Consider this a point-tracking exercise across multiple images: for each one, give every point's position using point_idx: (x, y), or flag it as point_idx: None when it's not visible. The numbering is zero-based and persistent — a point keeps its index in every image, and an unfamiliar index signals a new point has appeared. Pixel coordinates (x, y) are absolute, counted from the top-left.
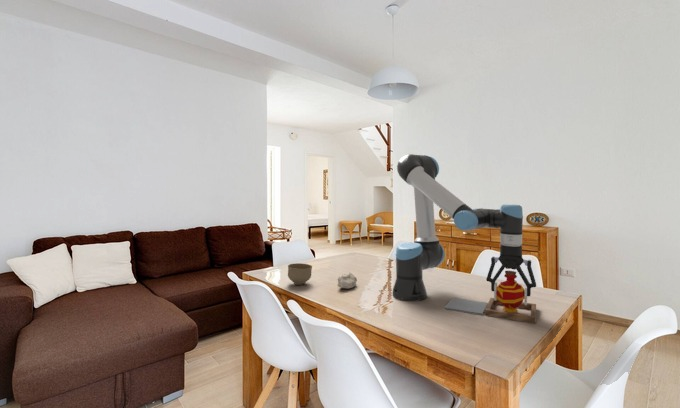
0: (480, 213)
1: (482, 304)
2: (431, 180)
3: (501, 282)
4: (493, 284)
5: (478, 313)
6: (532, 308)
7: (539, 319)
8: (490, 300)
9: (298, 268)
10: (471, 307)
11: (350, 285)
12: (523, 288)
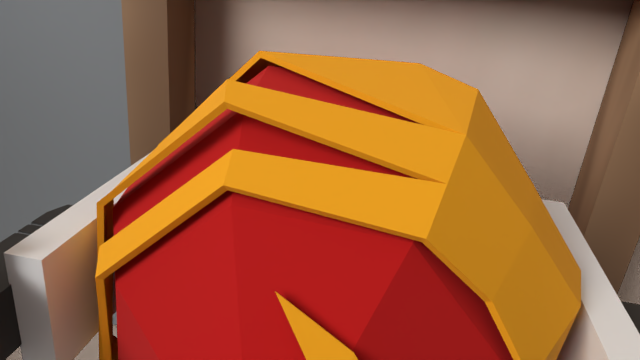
0: None
1: (89, 83)
2: None
3: (111, 253)
4: (16, 326)
5: (115, 322)
6: (619, 173)
7: (623, 294)
8: (135, 30)
9: None
10: (31, 213)
11: None
12: (564, 336)
